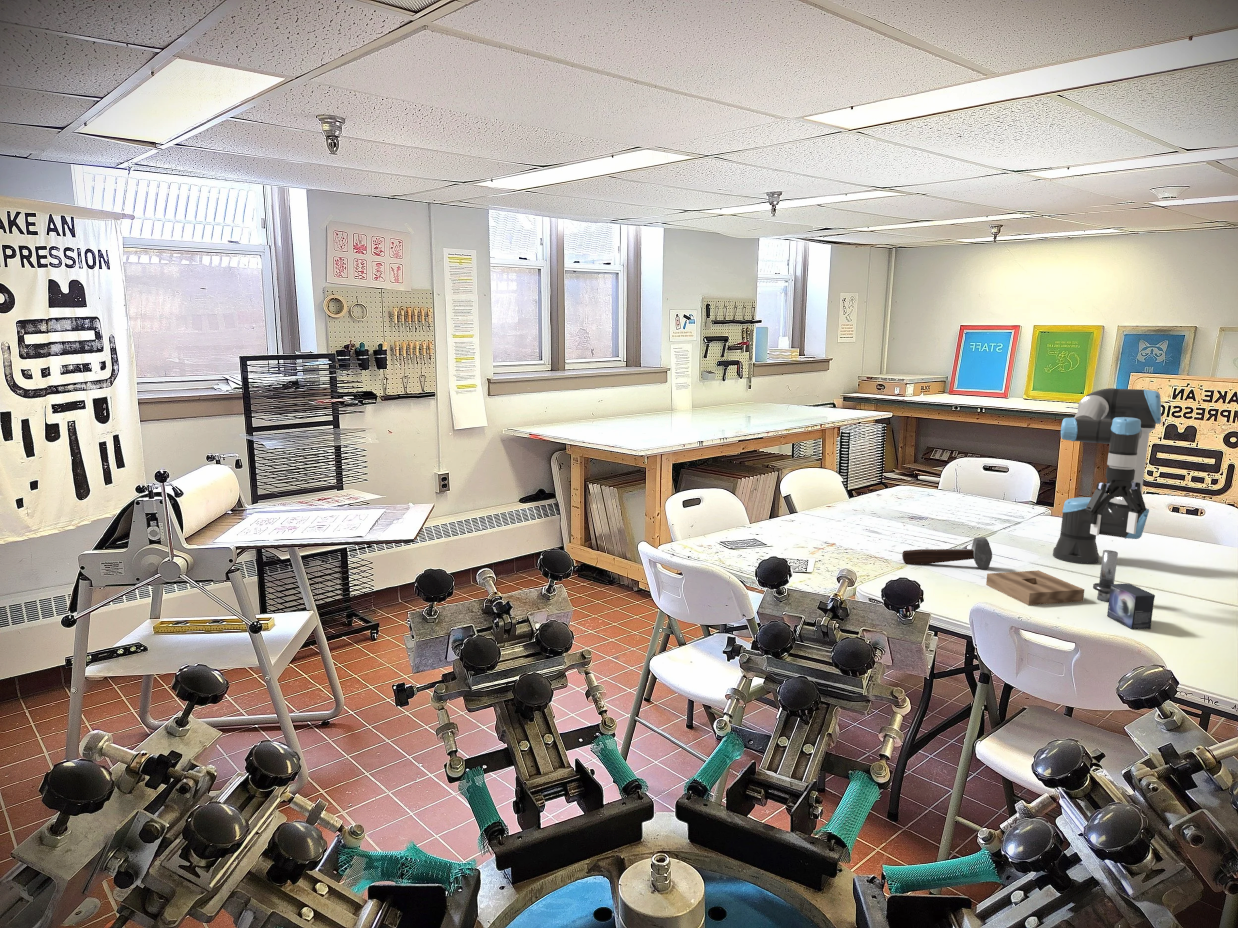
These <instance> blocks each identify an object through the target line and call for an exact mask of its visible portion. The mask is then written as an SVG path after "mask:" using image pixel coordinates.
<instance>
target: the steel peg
mask: <svg viewBox="0 0 1238 928" xmlns="http://www.w3.org/2000/svg"><path fill="white" fill-rule="evenodd" d="M1118 555H1119V552H1117V551H1115V550H1111V549H1104V550H1102V556H1101V565H1100V573H1099V582H1096V583H1093V586H1092V589H1093V590H1095V591H1097V598H1096V600H1098V601H1099V602H1104V603H1109V596H1110V587H1111V584H1115V579H1116V572H1117V564H1118Z"/></svg>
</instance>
